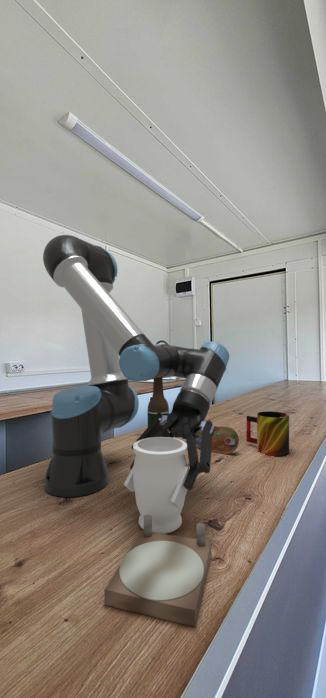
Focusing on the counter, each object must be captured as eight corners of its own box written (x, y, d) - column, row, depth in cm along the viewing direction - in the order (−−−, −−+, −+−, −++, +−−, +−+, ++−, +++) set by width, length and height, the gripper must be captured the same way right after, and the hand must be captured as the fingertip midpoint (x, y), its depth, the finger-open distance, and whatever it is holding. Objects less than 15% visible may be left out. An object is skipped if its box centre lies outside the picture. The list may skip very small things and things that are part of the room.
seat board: (104, 604, 42) (104, 566, 42) (141, 541, 55) (141, 512, 55) (195, 626, 38) (195, 585, 38) (211, 554, 52) (211, 523, 52)
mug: (246, 444, 110) (246, 409, 110) (289, 449, 104) (289, 412, 104) (241, 452, 101) (241, 415, 101) (288, 458, 95) (288, 418, 95)
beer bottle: (173, 440, 115) (172, 373, 115) (161, 446, 108) (161, 375, 108) (155, 437, 119) (154, 373, 119) (143, 442, 113) (142, 374, 112)
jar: (184, 542, 55) (184, 455, 54) (126, 535, 57) (125, 451, 56) (190, 510, 65) (190, 437, 65) (140, 506, 67) (140, 434, 67)
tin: (193, 448, 106) (192, 423, 106) (197, 445, 109) (197, 421, 109) (236, 456, 98) (236, 429, 98) (240, 453, 100) (240, 427, 100)
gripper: (248, 415, 66) (213, 524, 54) (160, 404, 80) (116, 488, 67) (238, 393, 62) (197, 506, 50) (147, 385, 76) (97, 471, 63)
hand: (150, 496), depth 58 cm, fingers closed on jar, 10 cm apart
